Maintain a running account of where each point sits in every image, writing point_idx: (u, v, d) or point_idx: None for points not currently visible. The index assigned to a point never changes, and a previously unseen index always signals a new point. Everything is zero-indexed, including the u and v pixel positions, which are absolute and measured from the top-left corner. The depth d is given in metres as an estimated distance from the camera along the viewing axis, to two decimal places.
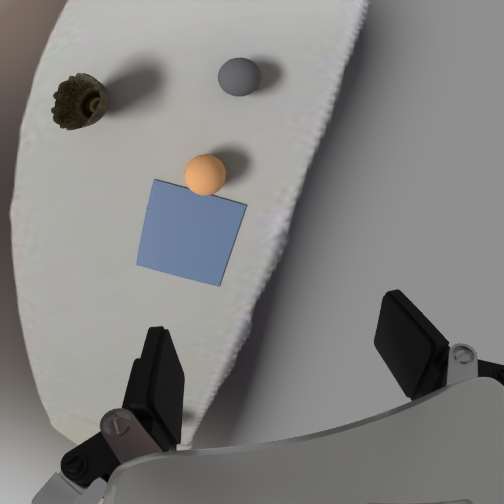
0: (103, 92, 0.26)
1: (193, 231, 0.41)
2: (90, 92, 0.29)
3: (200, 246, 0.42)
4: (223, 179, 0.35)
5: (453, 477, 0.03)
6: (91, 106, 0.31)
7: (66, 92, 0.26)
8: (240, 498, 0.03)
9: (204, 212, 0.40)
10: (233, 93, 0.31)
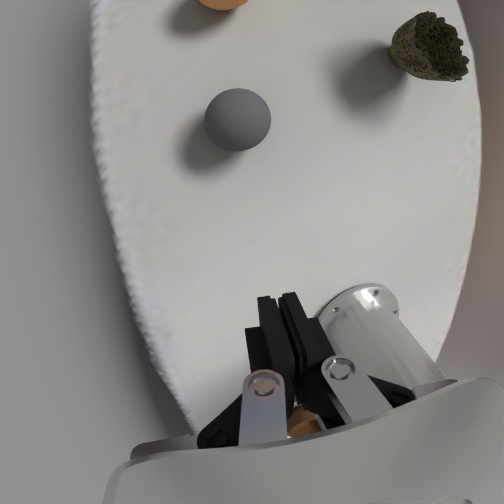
0: (412, 55, 0.17)
1: None
2: None
3: None
4: None
5: (453, 477, 0.03)
6: None
7: (451, 66, 0.18)
8: (240, 498, 0.03)
9: None
10: (234, 89, 0.20)
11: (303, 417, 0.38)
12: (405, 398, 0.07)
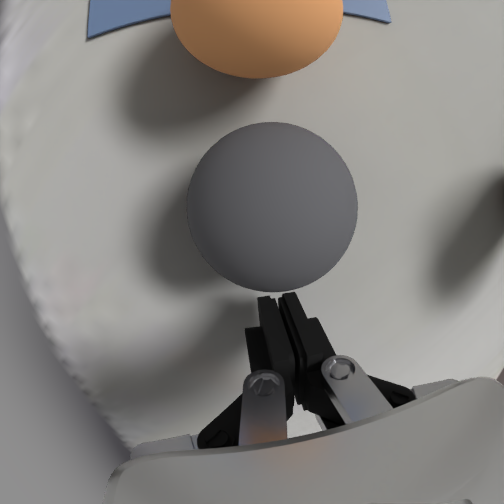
0: None
1: None
2: None
3: None
4: None
5: (453, 477, 0.03)
6: None
7: None
8: (240, 498, 0.03)
9: None
10: None
11: None
12: (405, 398, 0.07)
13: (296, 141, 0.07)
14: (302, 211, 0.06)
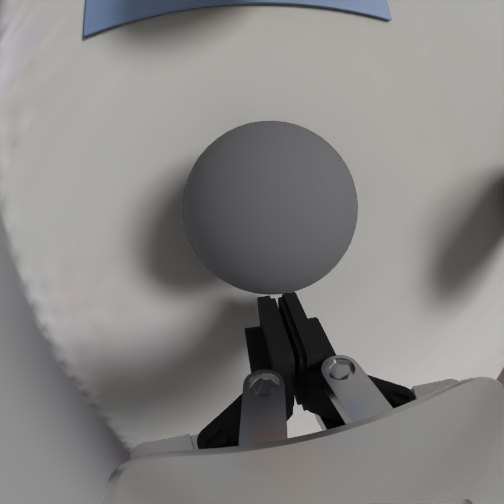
0: None
1: None
2: None
3: None
4: None
5: (453, 477, 0.03)
6: None
7: None
8: (240, 498, 0.03)
9: None
10: None
11: None
12: (405, 398, 0.07)
13: (295, 140, 0.07)
14: (300, 212, 0.06)
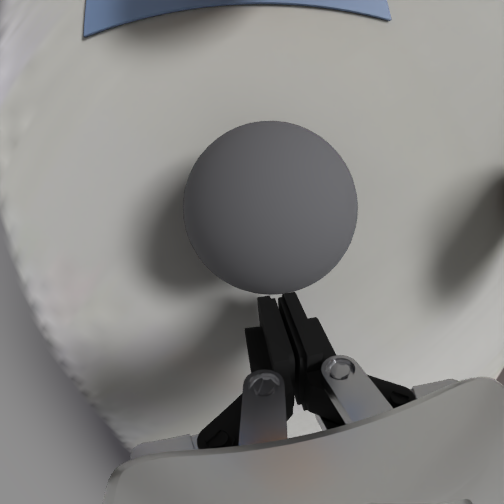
0: None
1: None
2: None
3: None
4: None
5: (453, 477, 0.03)
6: None
7: None
8: (240, 498, 0.03)
9: None
10: None
11: None
12: (405, 398, 0.07)
13: (295, 140, 0.07)
14: (300, 212, 0.06)
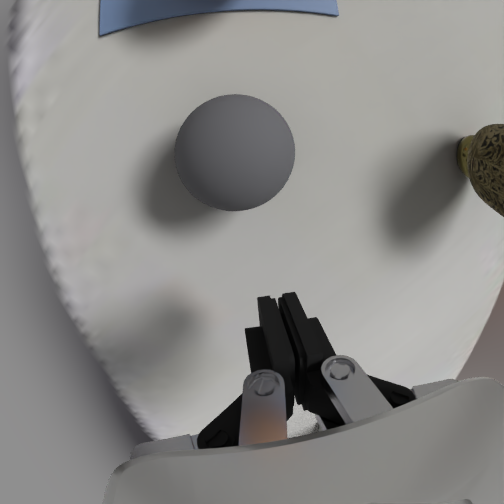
0: (500, 197, 0.12)
1: None
2: None
3: None
4: None
5: (453, 477, 0.03)
6: None
7: None
8: (240, 498, 0.03)
9: None
10: None
11: None
12: (405, 398, 0.07)
13: (245, 104, 0.10)
14: (246, 145, 0.10)
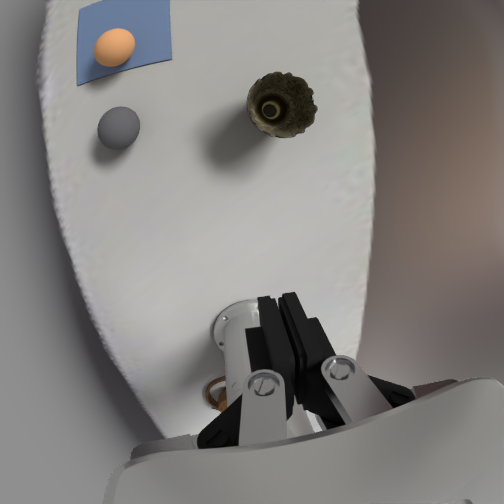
0: None
1: None
2: (282, 121, 0.32)
3: (105, 28, 0.24)
4: None
5: (453, 477, 0.03)
6: (277, 107, 0.33)
7: (306, 115, 0.29)
8: (240, 498, 0.03)
9: None
10: None
11: None
12: (405, 398, 0.07)
13: (116, 109, 0.27)
14: (112, 122, 0.26)
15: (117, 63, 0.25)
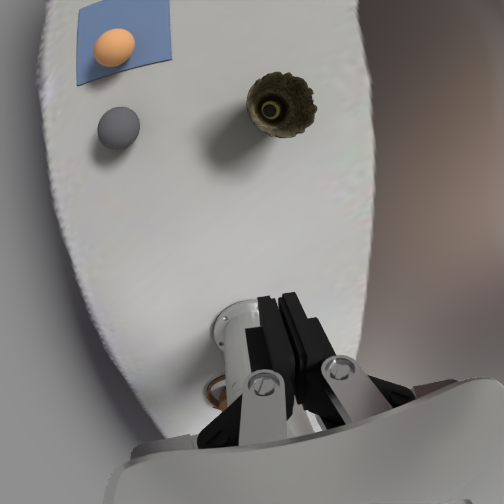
0: None
1: None
2: (282, 121, 0.32)
3: (105, 28, 0.24)
4: None
5: (453, 477, 0.03)
6: (277, 108, 0.33)
7: (306, 115, 0.29)
8: (240, 498, 0.03)
9: None
10: None
11: None
12: (405, 398, 0.07)
13: (115, 110, 0.27)
14: (112, 123, 0.26)
15: (117, 63, 0.25)
